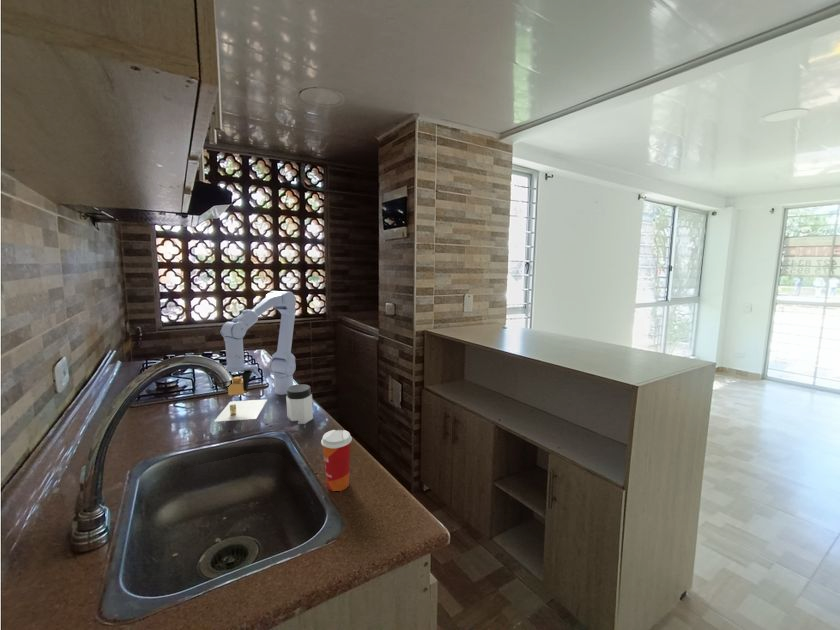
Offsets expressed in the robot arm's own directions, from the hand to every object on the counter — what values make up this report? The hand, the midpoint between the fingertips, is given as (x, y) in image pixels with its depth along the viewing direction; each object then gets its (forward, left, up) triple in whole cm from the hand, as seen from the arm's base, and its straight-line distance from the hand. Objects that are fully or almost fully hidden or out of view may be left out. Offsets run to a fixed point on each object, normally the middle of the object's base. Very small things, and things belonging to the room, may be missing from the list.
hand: (237, 390), depth 138 cm
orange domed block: (0, 0, -1) cm, 1 cm away
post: (+3, -1, -8) cm, 9 cm away
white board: (-1, +1, -10) cm, 10 cm away
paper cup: (+50, +38, -10) cm, 63 cm away
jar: (+8, +23, -10) cm, 26 cm away
